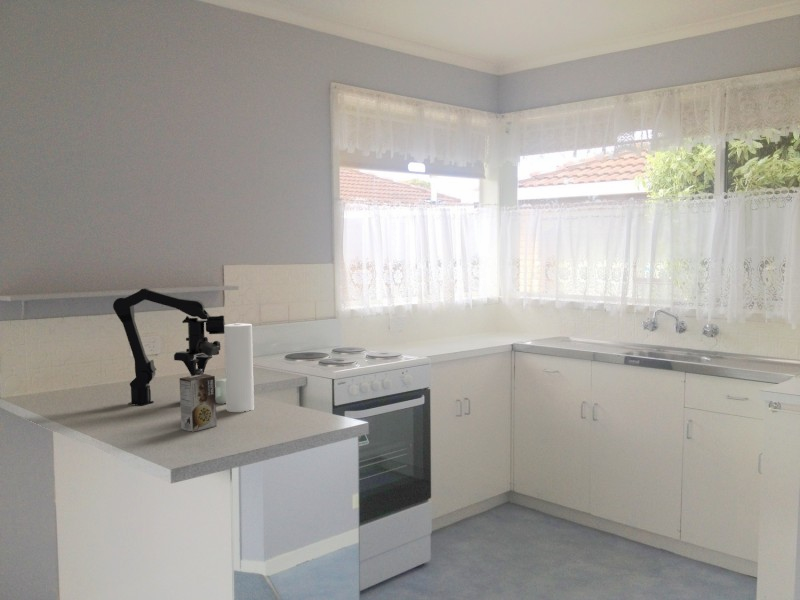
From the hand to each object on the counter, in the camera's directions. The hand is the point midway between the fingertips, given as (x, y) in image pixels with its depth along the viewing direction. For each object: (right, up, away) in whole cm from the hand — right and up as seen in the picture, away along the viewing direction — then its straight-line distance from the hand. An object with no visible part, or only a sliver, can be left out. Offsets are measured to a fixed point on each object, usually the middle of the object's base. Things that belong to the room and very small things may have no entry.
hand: (197, 376), depth 267 cm
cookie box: (+12, -12, -40) cm, 44 cm away
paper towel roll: (+19, -10, -14) cm, 25 cm away
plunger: (0, -4, 0) cm, 4 cm away
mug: (+10, -9, -1) cm, 14 cm away
